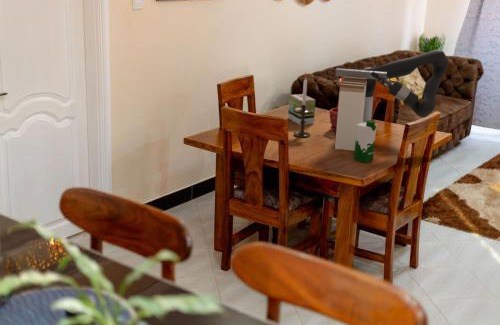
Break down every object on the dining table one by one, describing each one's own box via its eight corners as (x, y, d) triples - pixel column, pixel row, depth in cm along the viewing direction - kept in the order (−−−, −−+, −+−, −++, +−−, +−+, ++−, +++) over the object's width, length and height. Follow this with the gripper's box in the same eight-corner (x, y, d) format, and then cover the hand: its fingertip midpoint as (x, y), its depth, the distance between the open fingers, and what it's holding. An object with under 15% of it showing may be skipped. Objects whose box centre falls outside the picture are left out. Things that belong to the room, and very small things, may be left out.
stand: (361, 138, 371) (367, 77, 360) (358, 151, 349) (364, 86, 338) (339, 136, 373) (344, 75, 362) (334, 148, 351) (340, 84, 340)
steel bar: (386, 78, 354) (386, 72, 353) (385, 80, 351) (386, 73, 350) (336, 74, 359) (336, 68, 358) (335, 76, 356) (336, 69, 355)
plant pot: (351, 128, 390) (353, 107, 386) (352, 134, 378) (354, 113, 374) (328, 126, 391) (330, 106, 387) (328, 132, 379) (330, 111, 375)
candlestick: (301, 139, 365) (305, 74, 353) (287, 134, 373) (291, 71, 361) (315, 136, 371) (320, 72, 360) (302, 131, 379) (306, 69, 368)
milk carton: (366, 163, 329) (370, 124, 323) (350, 159, 335) (354, 120, 328) (375, 159, 336) (379, 120, 329) (359, 155, 341) (363, 117, 335)
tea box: (287, 118, 404) (288, 94, 400) (302, 117, 408) (303, 93, 404) (299, 125, 391) (300, 100, 387) (314, 124, 396) (316, 99, 391)
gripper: (403, 82, 358) (376, 63, 358) (403, 87, 345) (375, 68, 345) (395, 93, 361) (368, 75, 361) (394, 99, 348) (366, 80, 348)
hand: (372, 72), depth 353 cm, fingers closed on steel bar, 3 cm apart
